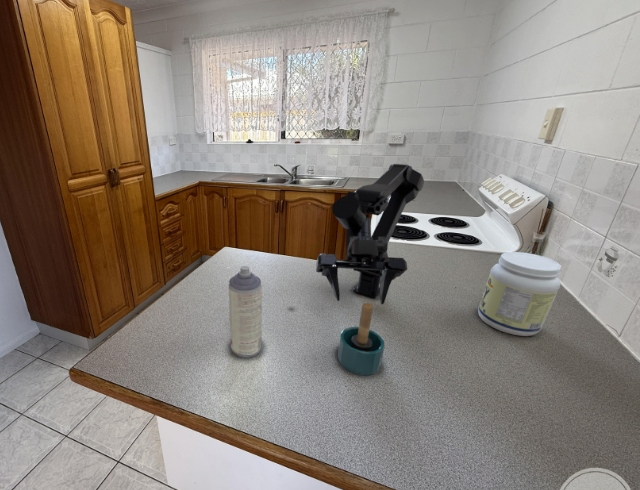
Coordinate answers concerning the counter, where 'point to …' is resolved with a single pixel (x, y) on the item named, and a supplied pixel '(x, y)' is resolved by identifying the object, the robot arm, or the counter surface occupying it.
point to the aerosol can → (245, 313)
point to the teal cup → (360, 353)
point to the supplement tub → (520, 293)
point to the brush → (363, 330)
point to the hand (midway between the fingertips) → (360, 302)
